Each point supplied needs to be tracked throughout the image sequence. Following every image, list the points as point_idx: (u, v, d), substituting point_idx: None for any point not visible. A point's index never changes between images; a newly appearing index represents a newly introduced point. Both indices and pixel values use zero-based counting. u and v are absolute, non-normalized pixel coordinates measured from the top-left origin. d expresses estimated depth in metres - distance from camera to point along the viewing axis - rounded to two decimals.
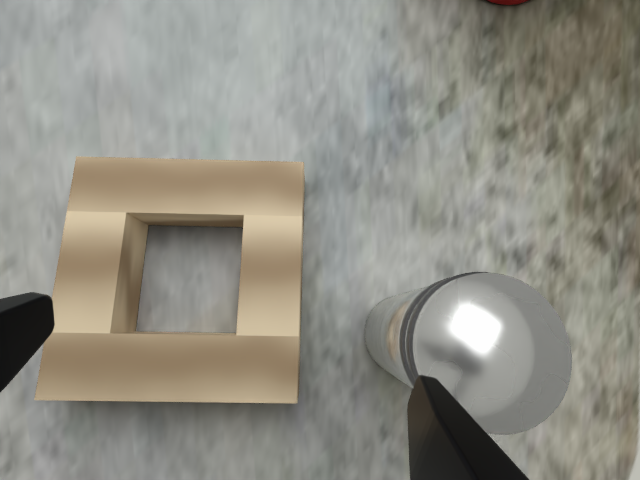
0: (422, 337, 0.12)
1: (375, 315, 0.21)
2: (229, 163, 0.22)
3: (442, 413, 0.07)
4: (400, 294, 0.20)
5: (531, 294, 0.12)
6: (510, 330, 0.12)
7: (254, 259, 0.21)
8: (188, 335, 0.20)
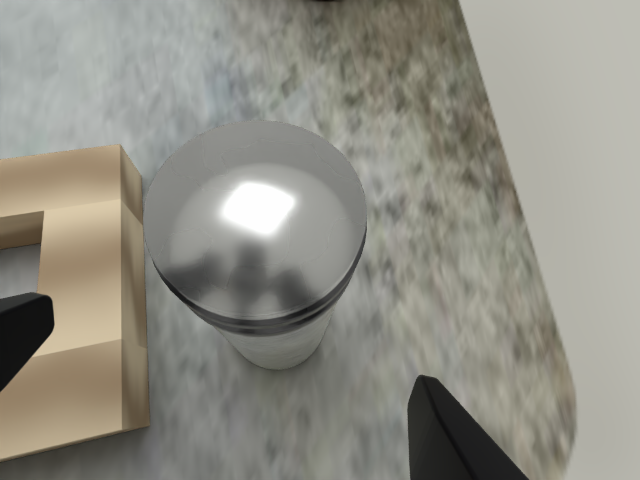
0: (151, 208, 0.08)
1: None
2: (26, 159, 0.19)
3: (442, 413, 0.07)
4: None
5: (302, 135, 0.09)
6: (277, 179, 0.09)
7: (57, 258, 0.17)
8: None
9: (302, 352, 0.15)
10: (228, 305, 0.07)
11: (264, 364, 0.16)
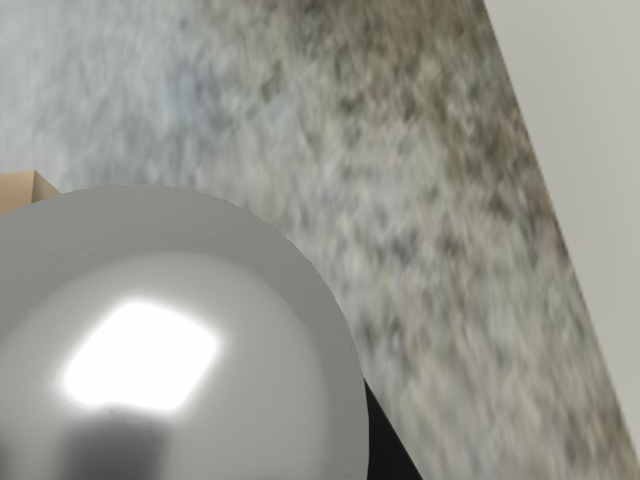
0: None
1: None
2: None
3: None
4: None
5: (226, 220, 0.04)
6: (151, 339, 0.04)
7: None
8: None
9: None
10: None
11: None
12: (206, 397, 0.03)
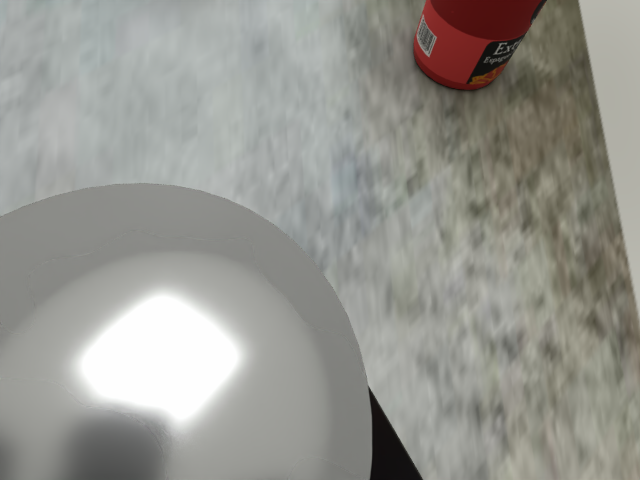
0: None
1: None
2: None
3: None
4: None
5: (229, 219, 0.04)
6: (155, 339, 0.04)
7: None
8: None
9: None
10: None
11: None
12: (210, 395, 0.03)
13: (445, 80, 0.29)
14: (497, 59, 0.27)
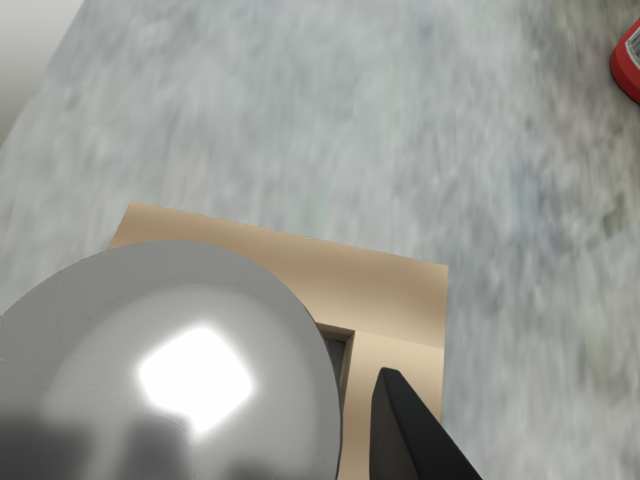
0: None
1: None
2: (342, 248, 0.15)
3: (397, 403, 0.07)
4: None
5: (236, 267, 0.05)
6: (183, 361, 0.05)
7: (364, 409, 0.13)
8: None
9: None
10: None
11: None
12: (223, 403, 0.05)
13: None
14: None
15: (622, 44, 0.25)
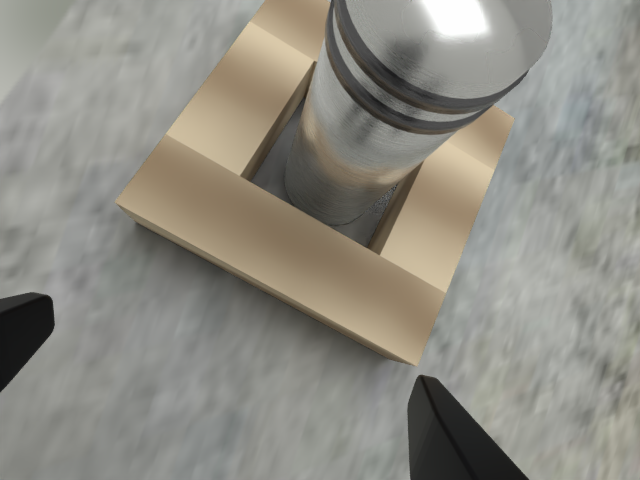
0: None
1: None
2: None
3: (442, 413, 0.07)
4: None
5: None
6: None
7: (429, 186, 0.17)
8: (326, 227, 0.16)
9: (365, 201, 0.15)
10: (419, 59, 0.07)
11: (318, 207, 0.17)
12: None
13: None
14: None
15: None
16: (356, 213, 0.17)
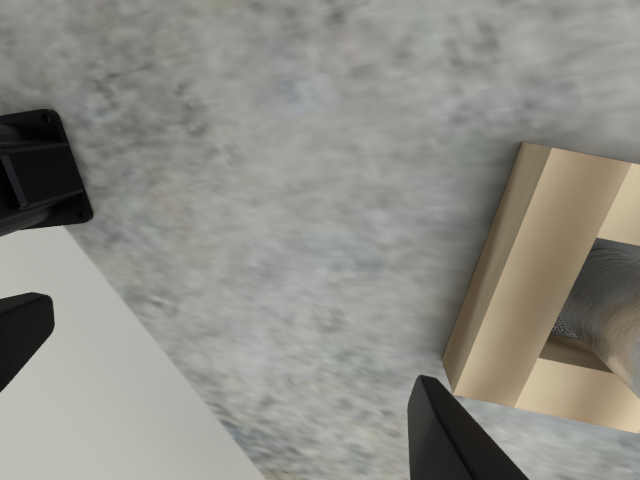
0: None
1: None
2: None
3: (442, 413, 0.07)
4: None
5: None
6: None
7: (611, 385, 0.20)
8: (556, 314, 0.19)
9: (591, 346, 0.18)
10: None
11: (571, 298, 0.19)
12: None
13: None
14: None
15: None
16: (569, 326, 0.20)
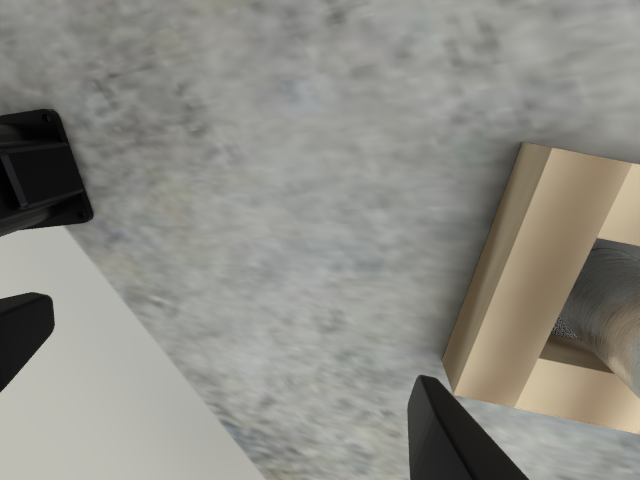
0: None
1: None
2: None
3: (442, 413, 0.07)
4: None
5: None
6: None
7: (611, 385, 0.20)
8: (556, 314, 0.19)
9: (591, 347, 0.18)
10: None
11: (571, 298, 0.19)
12: None
13: None
14: None
15: None
16: (570, 327, 0.20)
